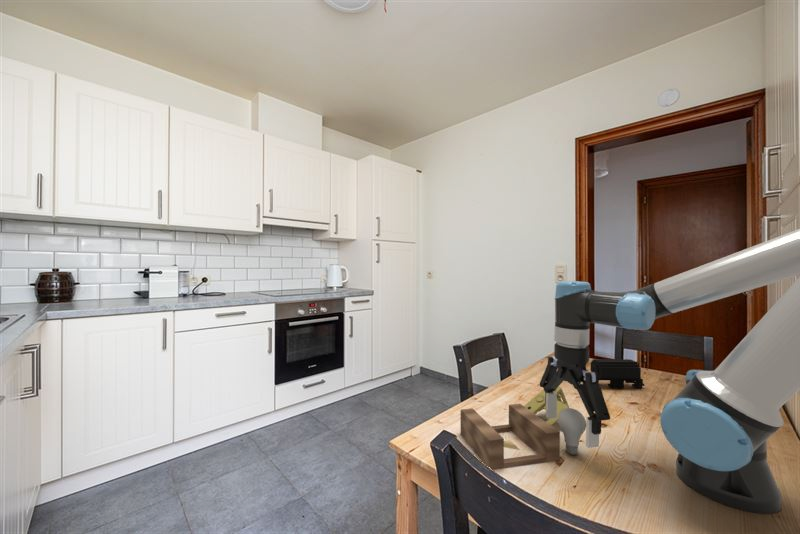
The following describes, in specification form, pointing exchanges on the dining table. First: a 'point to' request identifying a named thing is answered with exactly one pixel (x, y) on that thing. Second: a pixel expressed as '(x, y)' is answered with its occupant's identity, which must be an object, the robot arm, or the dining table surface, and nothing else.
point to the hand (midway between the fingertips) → (570, 430)
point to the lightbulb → (571, 428)
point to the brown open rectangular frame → (492, 444)
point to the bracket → (540, 404)
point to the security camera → (618, 372)
